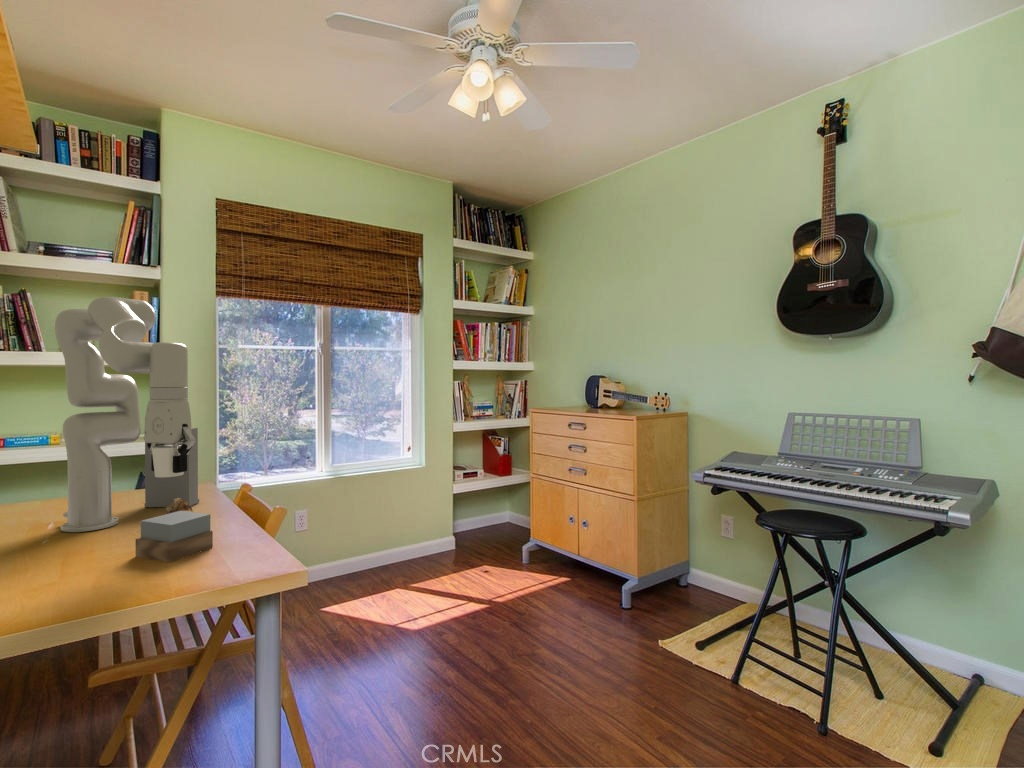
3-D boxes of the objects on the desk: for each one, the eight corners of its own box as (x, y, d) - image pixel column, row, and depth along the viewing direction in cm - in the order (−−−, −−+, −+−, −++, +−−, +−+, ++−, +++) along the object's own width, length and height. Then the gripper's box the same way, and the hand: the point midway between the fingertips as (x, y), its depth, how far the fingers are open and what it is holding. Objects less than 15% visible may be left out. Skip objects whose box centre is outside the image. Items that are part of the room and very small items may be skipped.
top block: (140, 537, 123) (140, 520, 122) (181, 526, 132) (180, 510, 132) (171, 542, 119) (171, 525, 119) (210, 530, 128) (210, 514, 128)
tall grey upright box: (199, 503, 174) (199, 427, 174) (189, 507, 168) (189, 429, 167) (156, 503, 173) (156, 427, 173) (144, 508, 167) (144, 429, 167)
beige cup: (169, 478, 120) (169, 447, 120) (144, 477, 121) (144, 447, 121) (193, 473, 127) (193, 444, 127) (169, 472, 128) (169, 443, 128)
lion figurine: (164, 532, 141) (163, 499, 141) (185, 528, 145) (185, 495, 145) (188, 542, 132) (187, 507, 132) (210, 537, 136) (210, 503, 136)
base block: (135, 558, 122) (135, 538, 122) (179, 544, 132) (179, 526, 132) (169, 564, 118) (169, 544, 118) (212, 549, 128) (212, 530, 128)
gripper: (127, 395, 123) (127, 471, 124) (181, 396, 117) (181, 476, 118) (158, 394, 130) (158, 466, 131) (210, 395, 125) (210, 470, 125)
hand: (169, 470), depth 124 cm, fingers closed on beige cup, 6 cm apart
